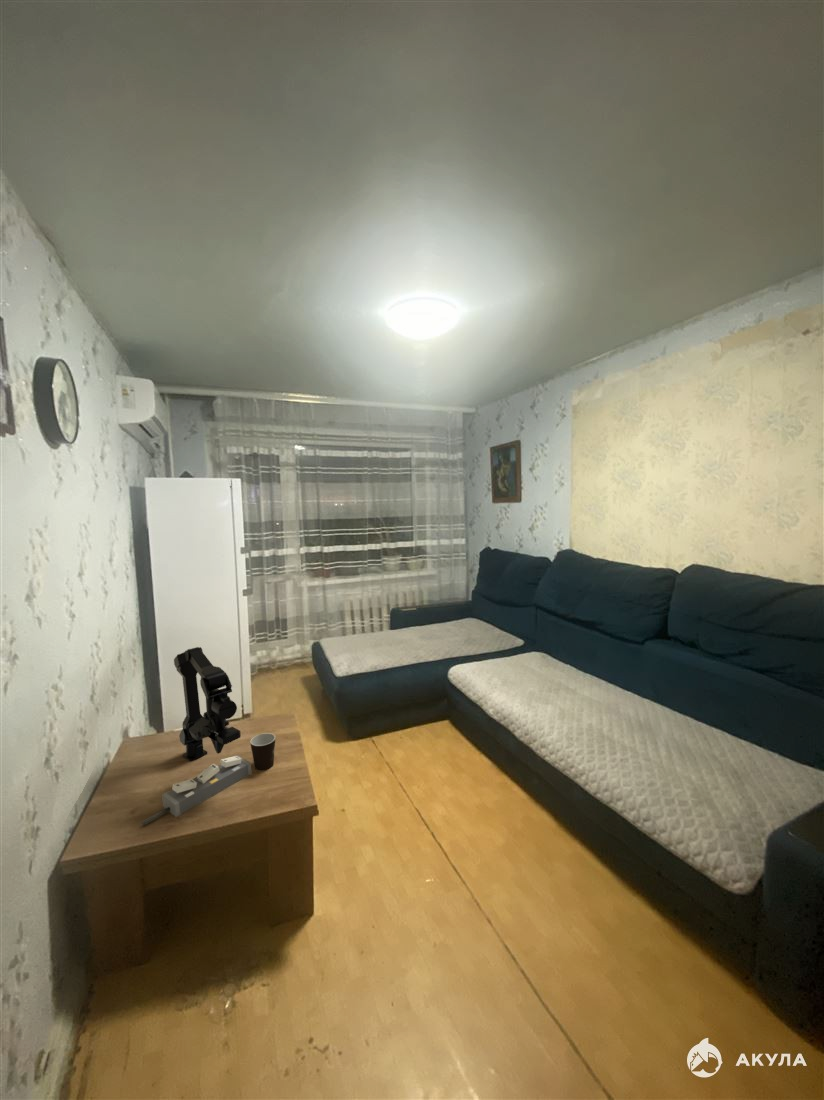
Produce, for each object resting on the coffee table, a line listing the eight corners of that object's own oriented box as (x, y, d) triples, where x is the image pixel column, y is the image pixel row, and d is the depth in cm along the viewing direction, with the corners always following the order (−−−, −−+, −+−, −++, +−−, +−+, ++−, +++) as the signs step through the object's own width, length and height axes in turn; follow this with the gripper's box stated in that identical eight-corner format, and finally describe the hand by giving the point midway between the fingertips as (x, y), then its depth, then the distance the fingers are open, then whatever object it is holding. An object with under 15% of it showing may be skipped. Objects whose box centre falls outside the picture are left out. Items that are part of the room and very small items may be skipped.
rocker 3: (219, 764, 151) (220, 759, 151) (235, 760, 156) (236, 755, 156) (225, 767, 149) (226, 762, 149) (240, 763, 154) (241, 758, 154)
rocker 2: (198, 780, 145) (196, 776, 144) (214, 767, 149) (213, 763, 149) (203, 783, 143) (201, 779, 142) (219, 770, 147) (218, 766, 147)
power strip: (136, 820, 132) (135, 807, 132) (237, 766, 159) (237, 755, 159) (149, 832, 127) (148, 819, 127) (251, 773, 154) (250, 762, 154)
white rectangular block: (172, 789, 138) (173, 783, 138) (190, 784, 143) (191, 779, 143) (177, 793, 136) (178, 787, 136) (195, 787, 141) (196, 782, 141)
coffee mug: (269, 774, 154) (267, 747, 153) (246, 771, 156) (245, 744, 155) (285, 755, 166) (283, 730, 164) (264, 753, 167) (262, 728, 166)
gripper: (177, 710, 146) (180, 754, 148) (207, 726, 135) (210, 774, 136) (210, 698, 155) (212, 740, 156) (240, 712, 144) (242, 757, 145)
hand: (218, 752), depth 148 cm, fingers closed
